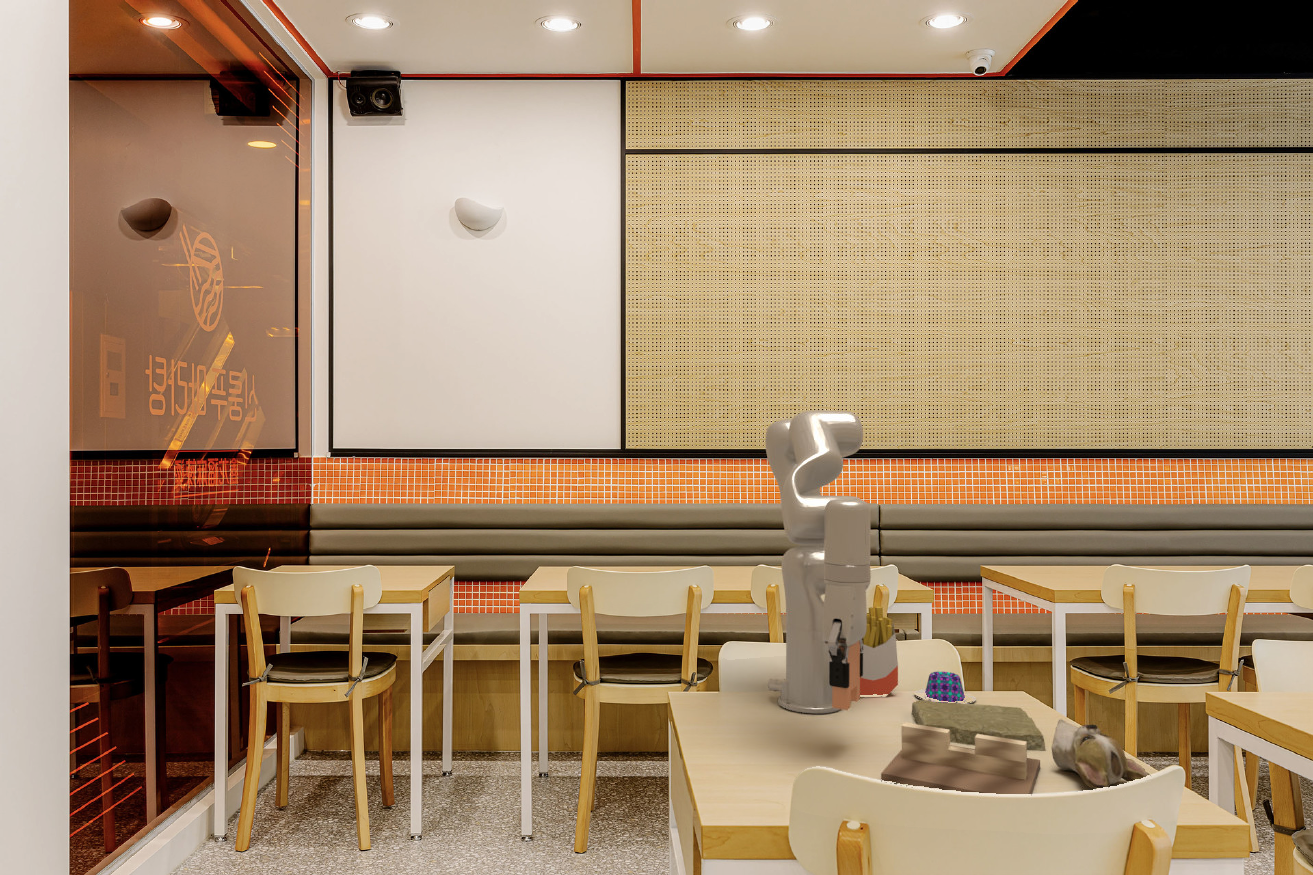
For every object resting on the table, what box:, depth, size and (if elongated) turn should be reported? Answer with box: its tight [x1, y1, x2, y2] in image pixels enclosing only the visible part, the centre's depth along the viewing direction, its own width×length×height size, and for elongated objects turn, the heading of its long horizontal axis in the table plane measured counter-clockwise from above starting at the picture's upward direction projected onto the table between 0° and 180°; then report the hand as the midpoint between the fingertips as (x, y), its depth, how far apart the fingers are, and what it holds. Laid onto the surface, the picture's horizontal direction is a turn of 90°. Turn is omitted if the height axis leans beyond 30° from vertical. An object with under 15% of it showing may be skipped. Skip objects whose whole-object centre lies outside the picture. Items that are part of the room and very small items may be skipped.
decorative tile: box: [911, 699, 1047, 752], centre depth 148 cm, size 19×20×4 cm
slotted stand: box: [880, 722, 1041, 795], centre depth 126 cm, size 20×19×6 cm
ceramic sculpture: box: [1051, 718, 1151, 789], centre depth 124 cm, size 11×9×15 cm
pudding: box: [914, 671, 977, 704], centre depth 170 cm, size 12×12×5 cm
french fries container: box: [840, 606, 899, 695], centre depth 172 cm, size 5×11×18 cm, turn 101°
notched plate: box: [832, 640, 861, 711], centre depth 137 cm, size 2×7×10 cm, turn 150°
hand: (846, 680), depth 137 cm, fingers closed on notched plate, 6 cm apart
